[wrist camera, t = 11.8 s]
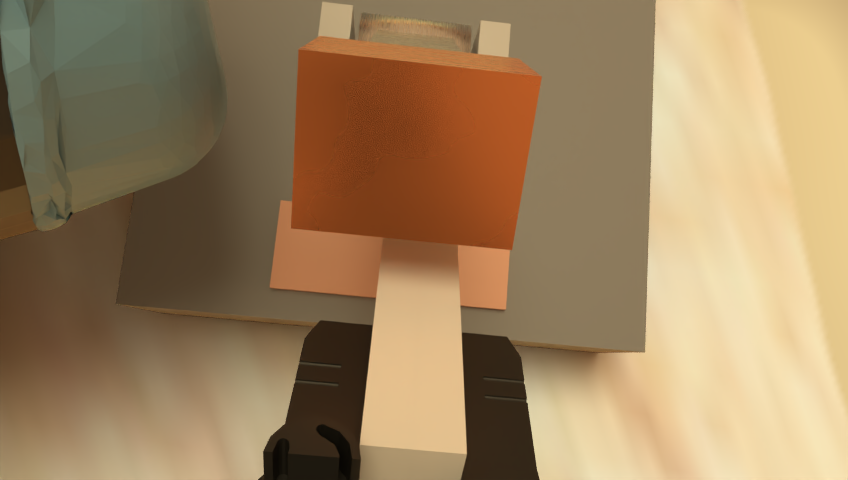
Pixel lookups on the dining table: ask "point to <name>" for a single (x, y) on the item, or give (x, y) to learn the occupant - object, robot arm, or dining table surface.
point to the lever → (411, 135)
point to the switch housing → (360, 255)
